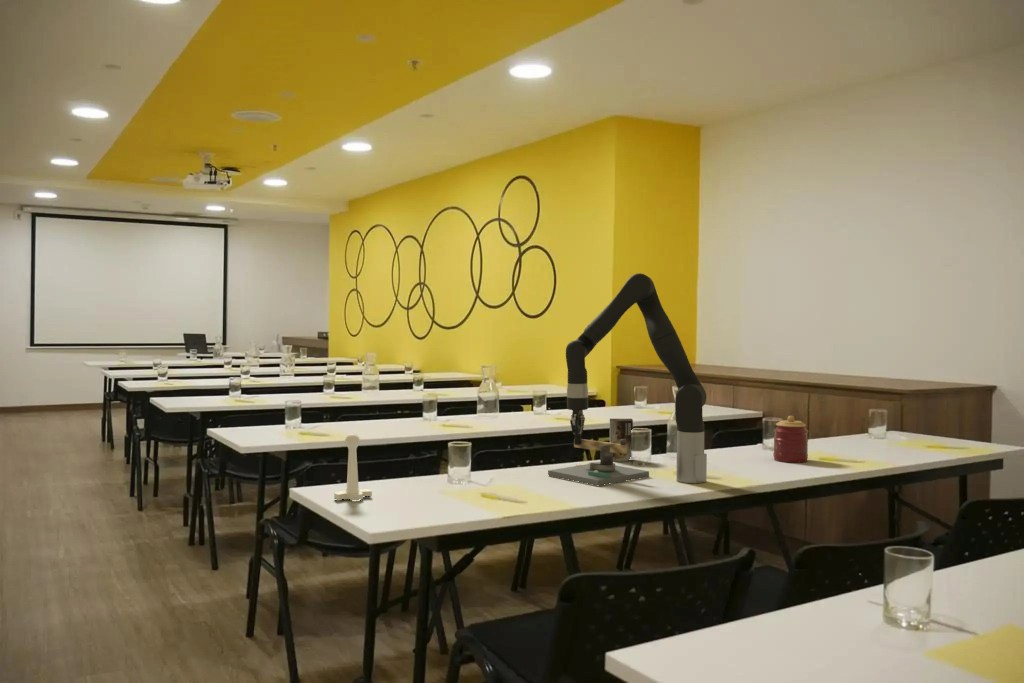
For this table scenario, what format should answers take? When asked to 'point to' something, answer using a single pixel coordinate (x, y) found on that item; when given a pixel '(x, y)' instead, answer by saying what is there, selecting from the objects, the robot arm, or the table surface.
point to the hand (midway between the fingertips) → (577, 444)
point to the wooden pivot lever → (604, 453)
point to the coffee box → (621, 436)
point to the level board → (598, 474)
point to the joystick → (352, 473)
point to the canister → (790, 441)
